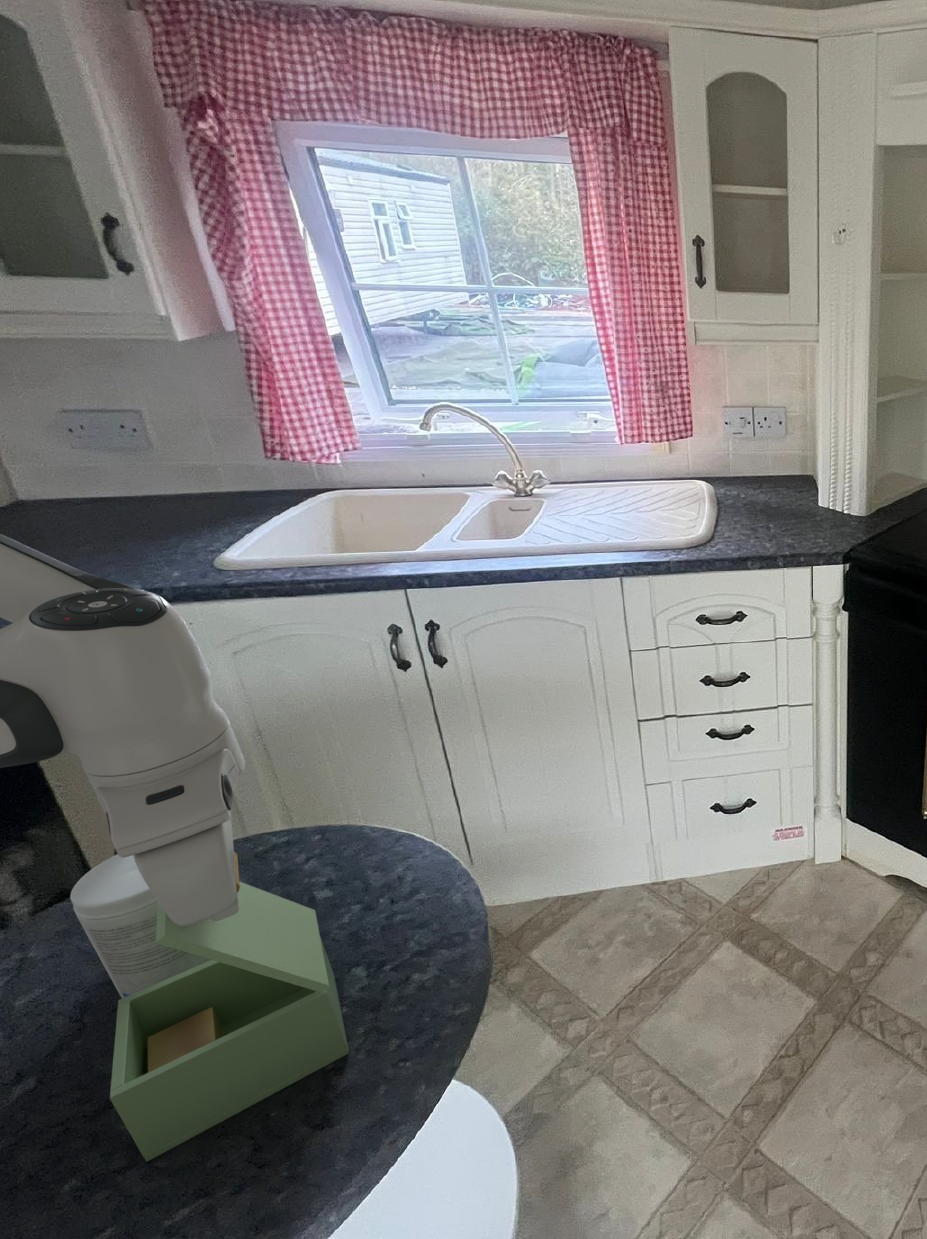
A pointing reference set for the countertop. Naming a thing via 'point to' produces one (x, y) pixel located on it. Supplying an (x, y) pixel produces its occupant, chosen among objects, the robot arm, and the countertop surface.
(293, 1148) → the countertop surface
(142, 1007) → the chest
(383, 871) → the countertop surface
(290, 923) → the lid
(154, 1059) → the block
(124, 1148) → the countertop surface
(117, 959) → the supplement tub
